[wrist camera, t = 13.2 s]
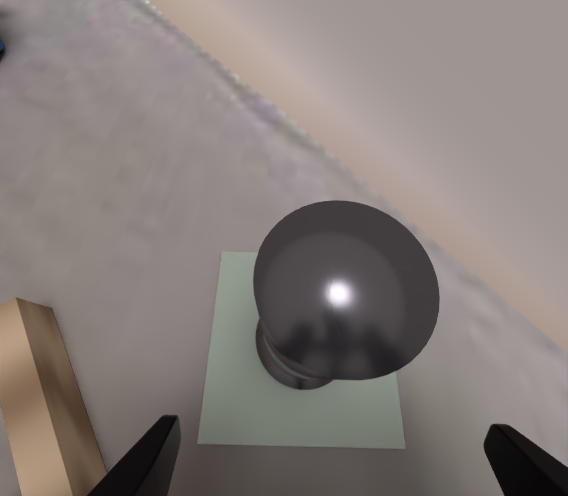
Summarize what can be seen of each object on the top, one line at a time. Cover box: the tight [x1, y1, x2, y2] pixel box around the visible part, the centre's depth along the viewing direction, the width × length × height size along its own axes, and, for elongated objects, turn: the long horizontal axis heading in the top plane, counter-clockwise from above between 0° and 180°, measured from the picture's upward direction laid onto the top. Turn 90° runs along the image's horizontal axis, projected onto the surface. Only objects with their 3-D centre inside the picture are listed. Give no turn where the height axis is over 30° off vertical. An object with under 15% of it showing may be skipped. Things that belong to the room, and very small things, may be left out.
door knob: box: [253, 201, 439, 390], centre depth 13 cm, size 6×6×12 cm
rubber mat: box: [197, 251, 406, 449], centre depth 19 cm, size 12×12×1 cm
